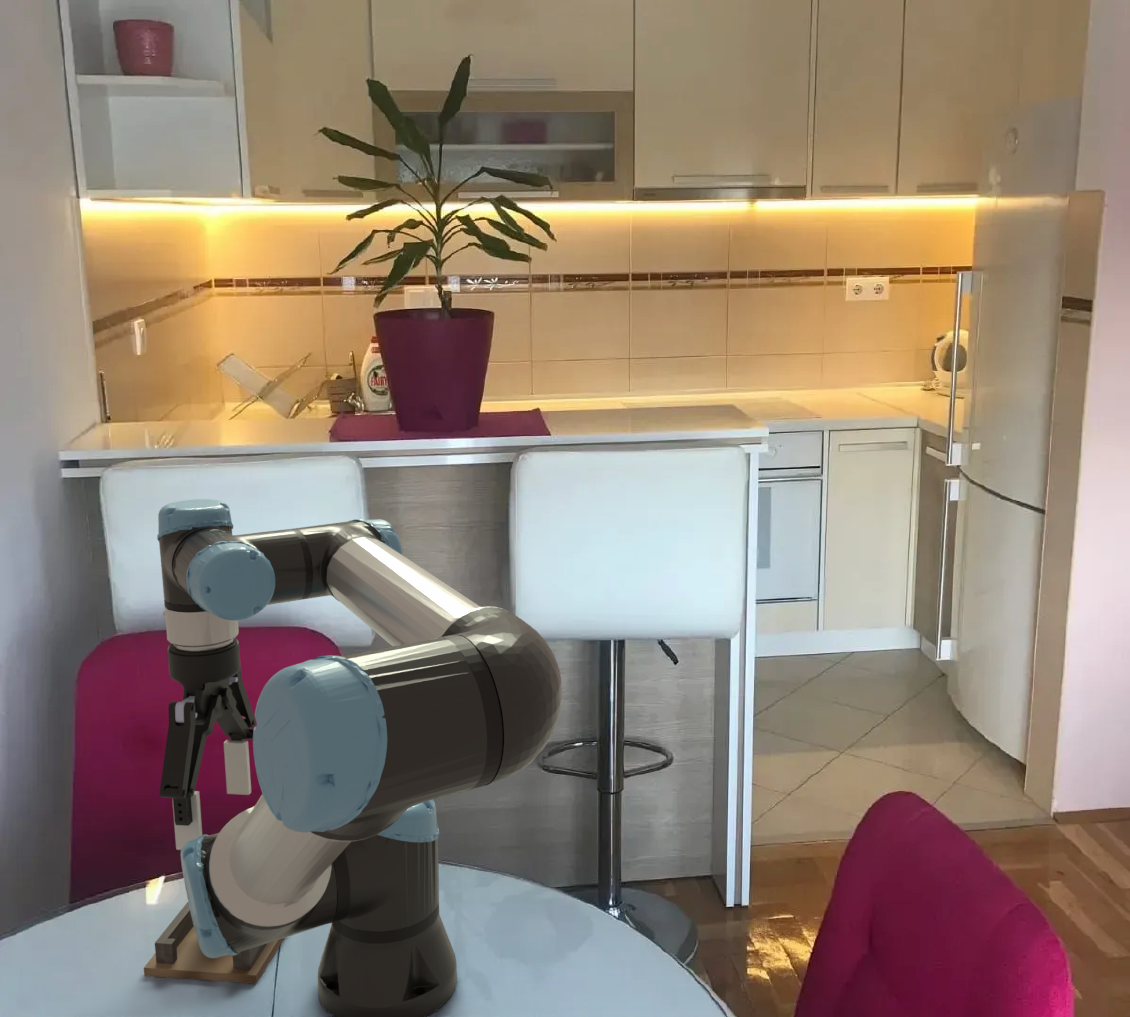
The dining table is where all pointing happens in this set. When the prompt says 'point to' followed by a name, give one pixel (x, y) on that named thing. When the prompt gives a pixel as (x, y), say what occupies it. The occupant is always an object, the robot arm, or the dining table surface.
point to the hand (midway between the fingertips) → (215, 819)
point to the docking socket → (187, 961)
